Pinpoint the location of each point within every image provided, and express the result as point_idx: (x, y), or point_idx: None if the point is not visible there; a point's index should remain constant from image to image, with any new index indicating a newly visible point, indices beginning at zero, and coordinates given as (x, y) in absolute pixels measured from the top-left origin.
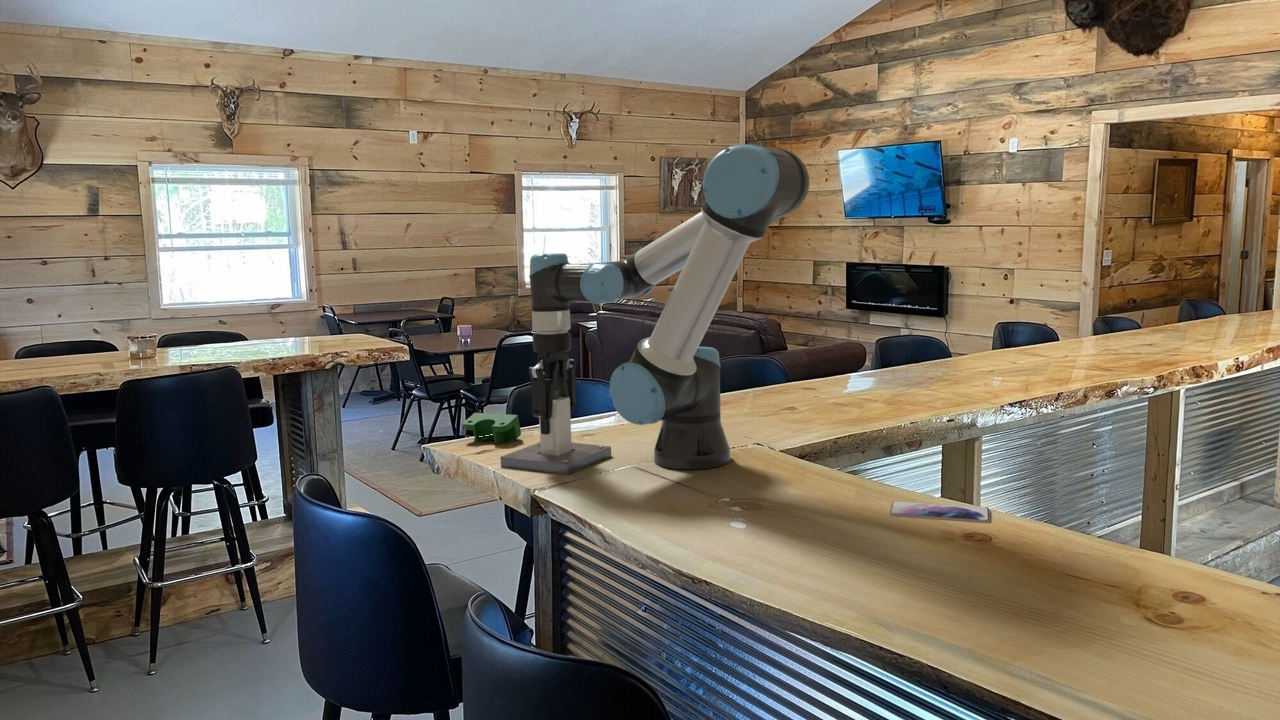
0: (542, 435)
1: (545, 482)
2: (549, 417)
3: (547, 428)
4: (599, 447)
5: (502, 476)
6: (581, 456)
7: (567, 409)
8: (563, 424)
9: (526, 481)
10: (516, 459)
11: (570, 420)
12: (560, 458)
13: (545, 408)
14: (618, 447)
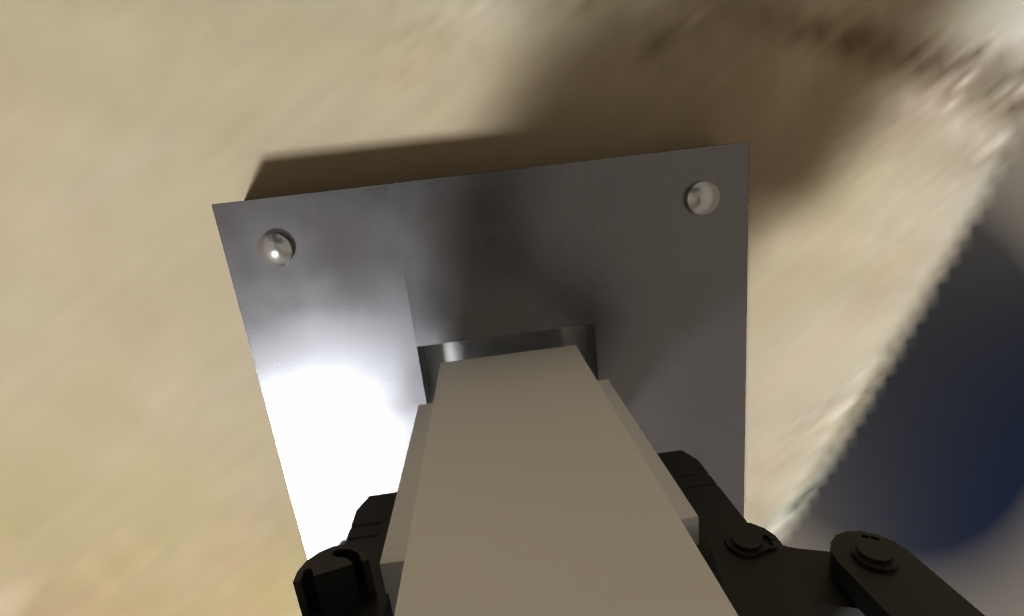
0: None
1: (886, 152)
2: (738, 530)
3: (695, 479)
4: (293, 247)
5: (858, 413)
6: (541, 200)
7: (465, 554)
8: (542, 448)
9: (899, 253)
10: (740, 482)
11: (420, 475)
12: (641, 283)
13: (898, 612)
14: (43, 305)
